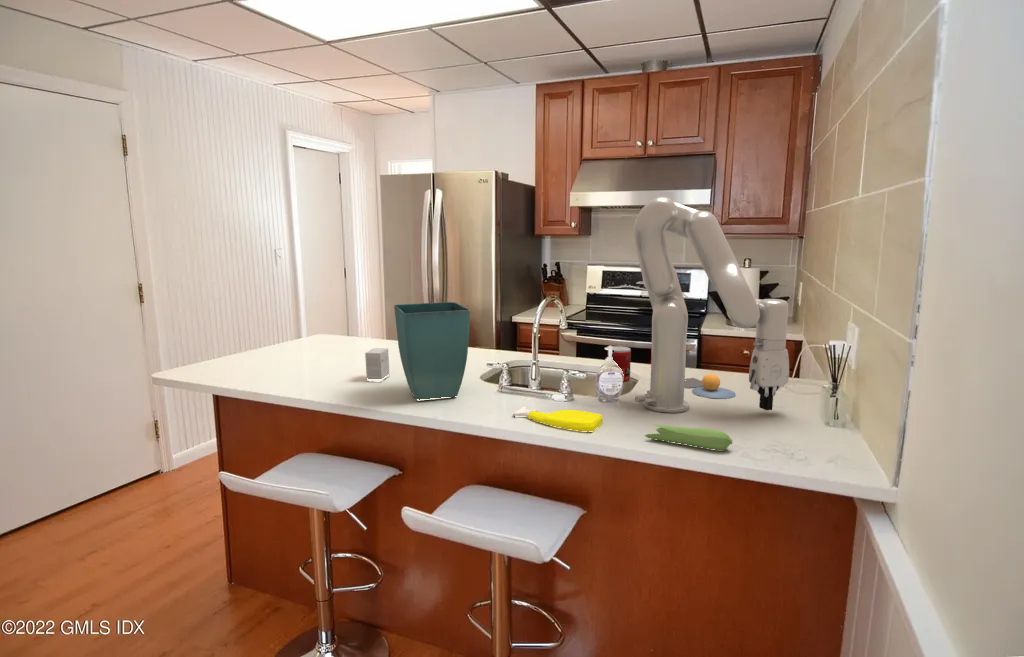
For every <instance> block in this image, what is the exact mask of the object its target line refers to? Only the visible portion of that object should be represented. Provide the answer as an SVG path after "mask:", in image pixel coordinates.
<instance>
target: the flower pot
mask: <svg viewBox="0 0 1024 657" xmlns="http://www.w3.org/2000/svg"><path fill="white" fill-rule="evenodd" d="M393 307H394V315H395V316H394V318H395V325H396V334H397V344H398V350H399V356H400V361H401V365H402V369H403V372H404V376H405V379H406V382H407V386H408V388H409V391H410V390H411V391H410V392H411V393H413V394H412V395H414V396H415V397H414V396H413V397H414V398H416V399H419V400H420V399H430V398H441V397H455V396H457V397H458V394H459V391H460V389H461V386H462V383H463V379H464V375H465V371H466V367H467V361H468V352H469V336H470V323H471V322H470V321H471V309H470V308H468V307H466V306H464V305H462V304H459V303H458V302H453V301H449V302H448V301H445V302H423V303H422V302H421V303H405V304H404V303H402V304H394V305H393ZM416 399H415V400H416Z"/></svg>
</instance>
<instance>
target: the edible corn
mask: <svg viewBox="0 0 1024 657" xmlns="http://www.w3.org/2000/svg"><path fill="white" fill-rule="evenodd" d="M650 425H651V426H654V427H657V428H656V429H655V431H656V432H657V433H648V434H645V435H644V437H646V438H647V439H650V438H651V439H657V440H664V441H669V442H675V443H681V444H687V445H692V446H697V447H703V448H709V449H715V450H724V451H725V450H727V449H728V448H729V446H731V445H733V440H734V439H733V438H731V437H730V436H729V434H727V433H726V432H724V431H721V430H720V429H719V430H718V429H713V428H701V427H700V428H698V427H687V426H686V427H685V426H674V425H673V426H671V425H663V424H652V423H650ZM651 439H650V440H651ZM657 440H656V441H657ZM669 442H668V443H669Z"/></svg>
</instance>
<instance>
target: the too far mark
mask: <svg viewBox="0 0 1024 657" xmlns="http://www.w3.org/2000/svg"><path fill="white" fill-rule="evenodd" d="M685 380H686V381H685V383H684V387H685V388H684V389H686V388H687V389H694V388H695V387H696V388H697V387H703V385H702V380H700V379H698V378H696V377H690V378H689V377H688V378H685Z"/></svg>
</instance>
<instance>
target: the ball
mask: <svg viewBox="0 0 1024 657" xmlns="http://www.w3.org/2000/svg"><path fill="white" fill-rule="evenodd" d="M701 381H702V385H703V387H704V388H705V389H707V390H709V391H714V390H716V389H717V388H718V387H719V388H720V385H721V380H720V377H719V376H718V375H717V374H714V373H706V374H705V375H703V377H702V380H701Z"/></svg>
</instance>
